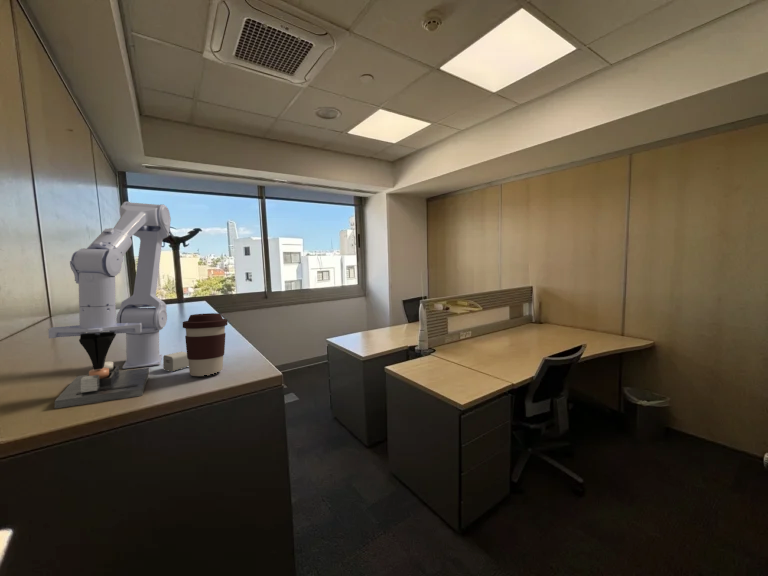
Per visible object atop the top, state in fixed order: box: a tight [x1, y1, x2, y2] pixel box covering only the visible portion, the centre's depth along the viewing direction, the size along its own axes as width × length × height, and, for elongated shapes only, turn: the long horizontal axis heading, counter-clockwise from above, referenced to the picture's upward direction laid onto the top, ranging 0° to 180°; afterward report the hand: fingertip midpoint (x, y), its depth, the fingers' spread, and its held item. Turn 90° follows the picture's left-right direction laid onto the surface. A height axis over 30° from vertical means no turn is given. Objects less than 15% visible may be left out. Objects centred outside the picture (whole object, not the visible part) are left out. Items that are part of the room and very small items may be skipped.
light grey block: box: [81, 375, 99, 393], centre depth 62 cm, size 2×2×3 cm
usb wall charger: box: [162, 351, 189, 372], centre depth 83 cm, size 4×7×4 cm, turn 156°
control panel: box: [54, 365, 150, 410], centre depth 68 cm, size 15×13×3 cm
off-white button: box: [103, 361, 114, 371], centre depth 71 cm, size 3×3×2 cm
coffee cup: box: [182, 312, 228, 377], centre depth 79 cm, size 10×10×15 cm
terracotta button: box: [88, 368, 109, 379], centre depth 67 cm, size 3×3×2 cm
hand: (99, 367), depth 67 cm, fingers closed
